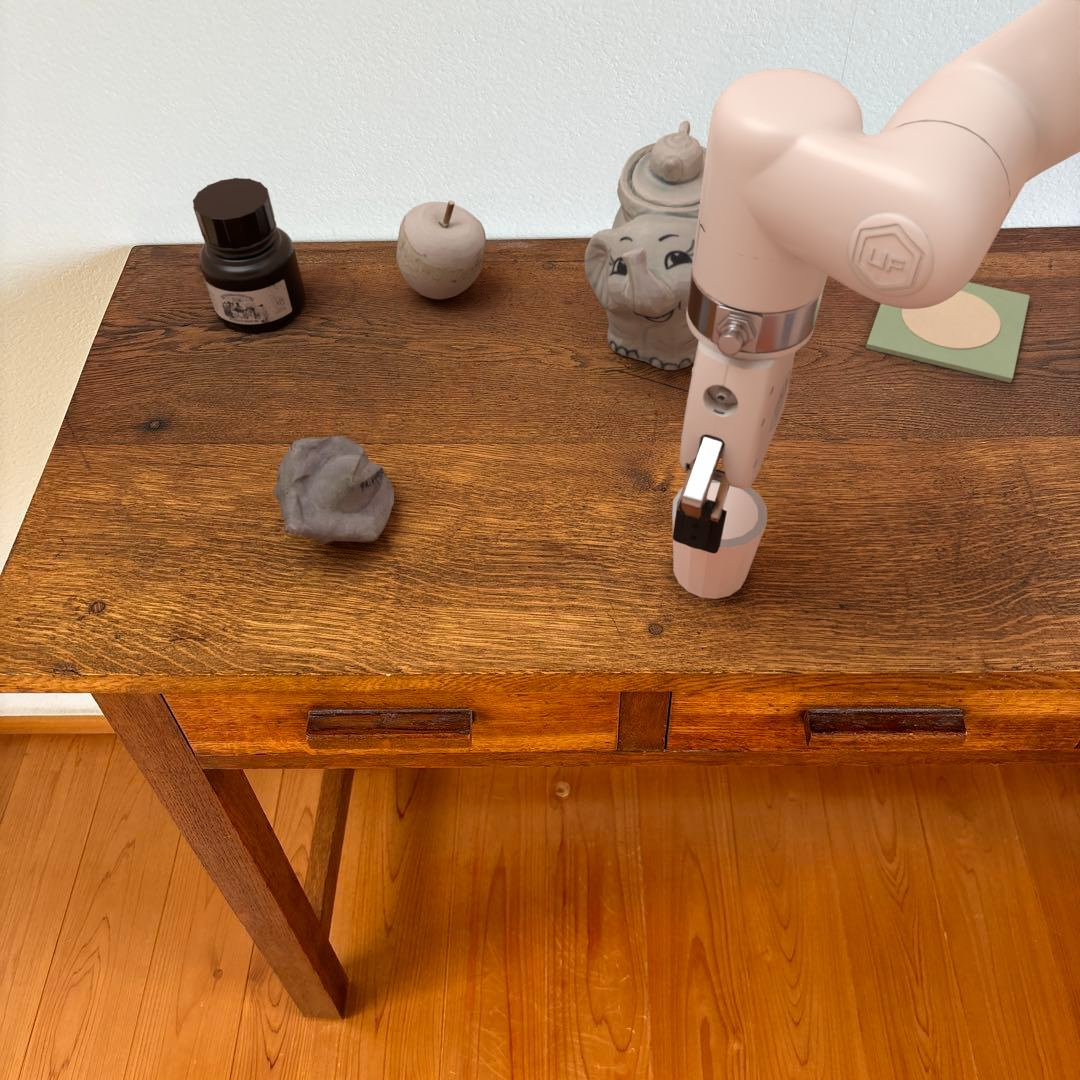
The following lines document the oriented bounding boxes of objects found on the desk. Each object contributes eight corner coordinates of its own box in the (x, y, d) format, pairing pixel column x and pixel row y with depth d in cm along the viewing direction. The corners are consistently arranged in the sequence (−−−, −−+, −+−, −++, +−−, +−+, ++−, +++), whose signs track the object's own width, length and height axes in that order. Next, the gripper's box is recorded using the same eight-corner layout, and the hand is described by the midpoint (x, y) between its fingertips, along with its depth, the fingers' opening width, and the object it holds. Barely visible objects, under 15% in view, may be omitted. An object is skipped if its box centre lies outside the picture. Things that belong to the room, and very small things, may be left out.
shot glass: (762, 547, 80) (776, 486, 74) (744, 615, 75) (757, 556, 70) (677, 527, 81) (684, 466, 76) (655, 592, 77) (661, 533, 72)
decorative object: (388, 282, 103) (373, 193, 95) (465, 255, 105) (456, 166, 98) (425, 329, 98) (413, 239, 90) (505, 300, 100) (499, 210, 93)
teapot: (637, 419, 89) (650, 233, 75) (537, 333, 97) (530, 149, 83) (773, 345, 95) (809, 159, 81) (668, 269, 103) (684, 87, 89)
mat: (1028, 300, 98) (1030, 293, 98) (1010, 383, 91) (1013, 376, 90) (892, 270, 102) (894, 264, 101) (865, 348, 94) (867, 342, 94)
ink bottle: (197, 327, 99) (158, 219, 90) (235, 274, 104) (202, 166, 95) (290, 340, 97) (260, 231, 88) (323, 285, 103) (299, 177, 93)
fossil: (379, 583, 78) (363, 515, 72) (266, 575, 79) (240, 507, 73) (407, 478, 85) (394, 408, 79) (302, 472, 86) (281, 402, 80)
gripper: (777, 411, 53) (732, 603, 66) (850, 233, 63) (799, 430, 76) (641, 374, 55) (624, 568, 68) (733, 207, 65) (703, 404, 78)
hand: (716, 495), depth 72 cm, fingers open, 9 cm apart
